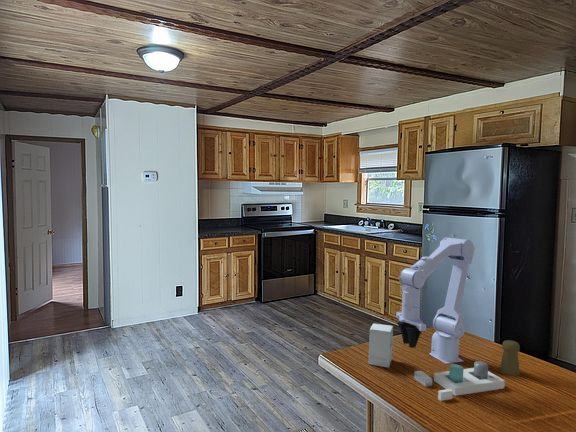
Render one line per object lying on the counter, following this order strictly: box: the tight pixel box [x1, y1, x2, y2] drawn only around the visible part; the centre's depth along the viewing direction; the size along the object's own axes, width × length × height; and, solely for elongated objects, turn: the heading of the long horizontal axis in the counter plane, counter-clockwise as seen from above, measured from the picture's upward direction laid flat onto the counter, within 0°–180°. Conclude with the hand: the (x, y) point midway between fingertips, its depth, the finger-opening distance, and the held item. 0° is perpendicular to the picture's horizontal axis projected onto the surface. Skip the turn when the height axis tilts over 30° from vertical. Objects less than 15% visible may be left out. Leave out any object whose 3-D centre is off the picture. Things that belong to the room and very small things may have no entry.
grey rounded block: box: [473, 360, 489, 380], centre depth 129 cm, size 4×4×6 cm
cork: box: [499, 339, 521, 377], centre depth 137 cm, size 6×6×11 cm
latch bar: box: [413, 370, 433, 388], centre depth 129 cm, size 6×2×3 cm, turn 16°
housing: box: [433, 367, 506, 396], centre depth 128 cm, size 10×18×3 cm, turn 106°
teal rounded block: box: [448, 363, 465, 383], centre depth 127 cm, size 4×4×6 cm
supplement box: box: [368, 323, 394, 368], centre depth 145 cm, size 7×7×13 cm
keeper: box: [437, 389, 454, 403], centre depth 119 cm, size 1×4×3 cm, turn 106°
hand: (409, 345), depth 136 cm, fingers open, 3 cm apart
